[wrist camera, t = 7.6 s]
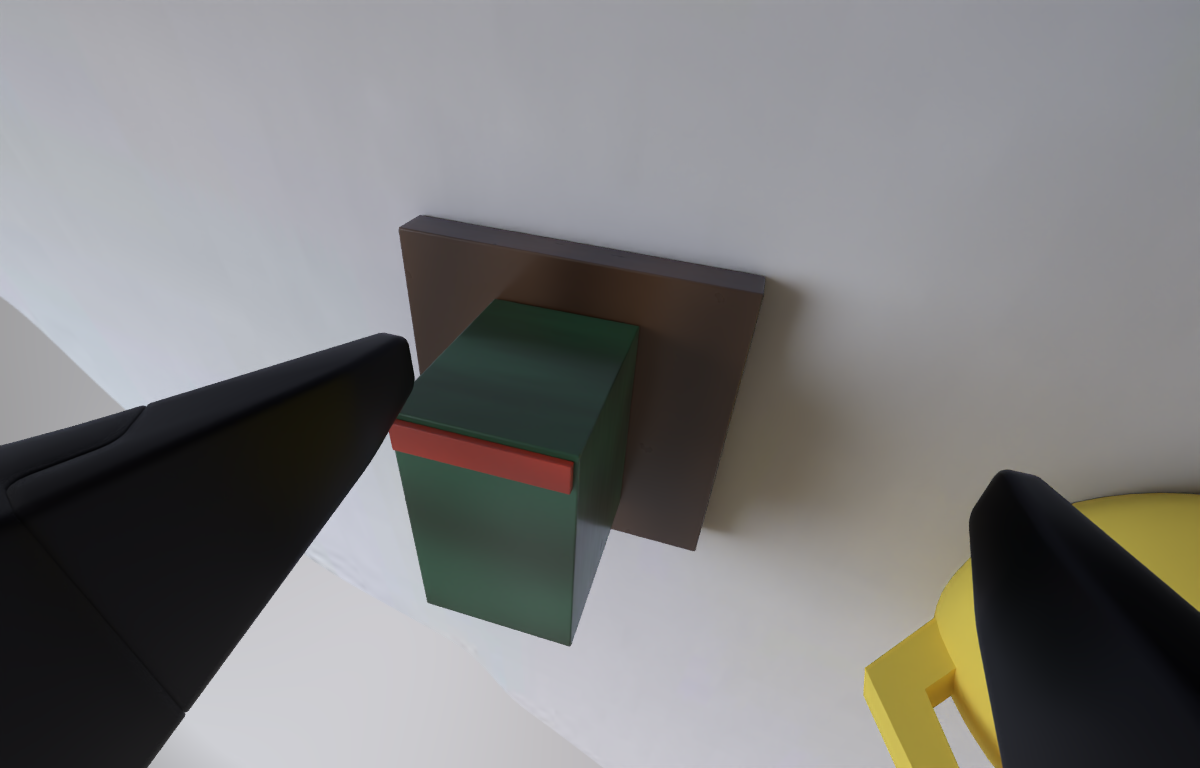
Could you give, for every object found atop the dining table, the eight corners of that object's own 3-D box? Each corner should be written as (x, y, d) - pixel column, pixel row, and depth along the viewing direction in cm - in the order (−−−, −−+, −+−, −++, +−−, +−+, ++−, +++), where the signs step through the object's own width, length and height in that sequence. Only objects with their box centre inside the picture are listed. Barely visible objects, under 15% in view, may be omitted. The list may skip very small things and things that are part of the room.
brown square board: (766, 275, 19) (764, 294, 18) (699, 527, 27) (695, 552, 25) (419, 214, 21) (397, 227, 20) (449, 461, 29) (435, 481, 28)
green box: (620, 501, 25) (568, 654, 19) (504, 472, 26) (423, 609, 20) (640, 325, 20) (576, 463, 14) (494, 297, 21) (380, 415, 15)
